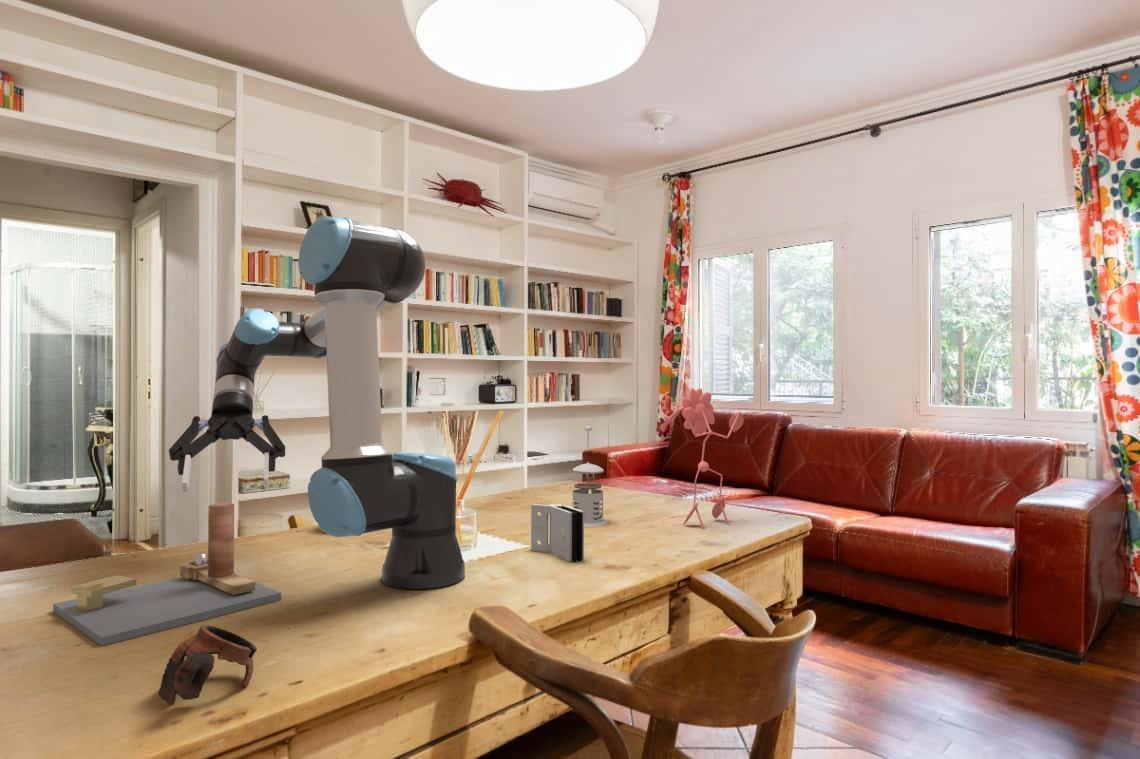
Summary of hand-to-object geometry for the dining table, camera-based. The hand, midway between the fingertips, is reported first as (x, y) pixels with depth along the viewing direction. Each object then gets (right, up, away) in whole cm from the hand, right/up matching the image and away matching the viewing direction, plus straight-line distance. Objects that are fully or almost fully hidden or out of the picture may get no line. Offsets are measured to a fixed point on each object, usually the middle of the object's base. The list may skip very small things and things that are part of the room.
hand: (226, 485), depth 129 cm
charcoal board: (-1, -17, -17) cm, 24 cm away
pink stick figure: (+97, -17, +51) cm, 111 cm away
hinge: (+62, -17, +17) cm, 66 cm away
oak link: (+3, -15, -9) cm, 18 cm away
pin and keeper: (-6, -16, -14) cm, 22 cm away
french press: (+69, -17, +50) cm, 87 cm away
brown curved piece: (+21, -17, -47) cm, 55 cm away
